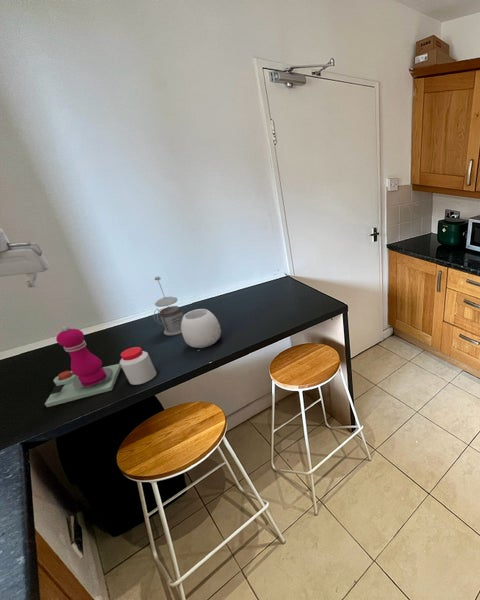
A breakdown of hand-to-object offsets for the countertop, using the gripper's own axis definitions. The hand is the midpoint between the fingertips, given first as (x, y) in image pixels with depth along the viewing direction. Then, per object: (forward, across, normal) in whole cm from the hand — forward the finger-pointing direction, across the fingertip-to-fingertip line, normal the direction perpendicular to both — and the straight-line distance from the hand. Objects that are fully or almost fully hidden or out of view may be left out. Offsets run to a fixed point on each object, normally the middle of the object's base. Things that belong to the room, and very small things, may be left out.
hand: (11, 289), depth 95 cm
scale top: (+30, -10, +11) cm, 34 cm away
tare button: (+31, -4, +6) cm, 32 cm away
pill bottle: (+33, -25, +14) cm, 44 cm away
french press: (+33, -32, -17) cm, 49 cm away
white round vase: (+33, -44, 0) cm, 55 cm away
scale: (+34, -9, +10) cm, 36 cm away
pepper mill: (+30, -12, +11) cm, 34 cm away
